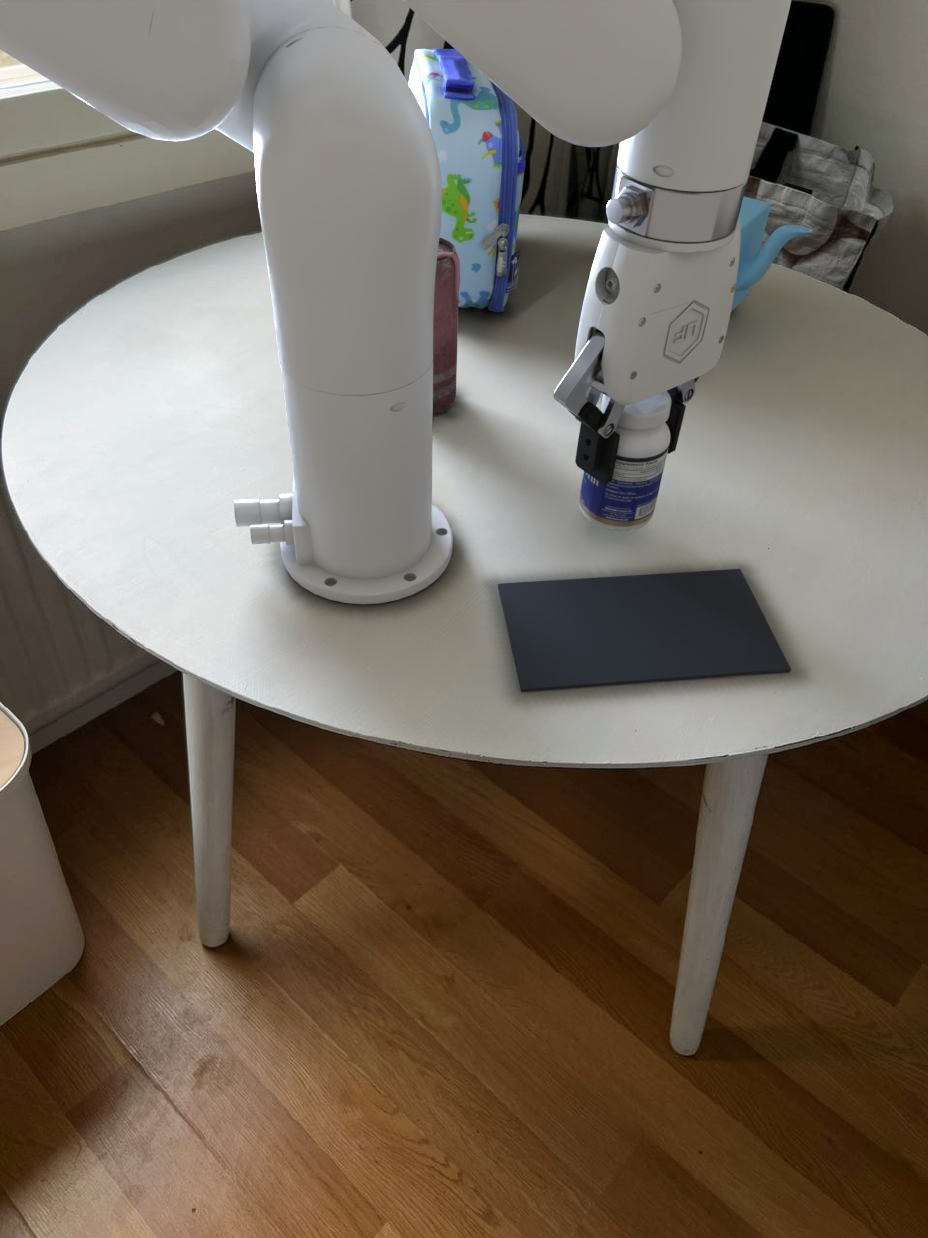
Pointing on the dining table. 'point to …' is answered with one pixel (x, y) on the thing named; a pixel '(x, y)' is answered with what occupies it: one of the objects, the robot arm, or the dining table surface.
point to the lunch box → (474, 171)
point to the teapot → (758, 245)
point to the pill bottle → (631, 468)
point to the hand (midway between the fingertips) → (625, 456)
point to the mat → (637, 630)
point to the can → (445, 327)
